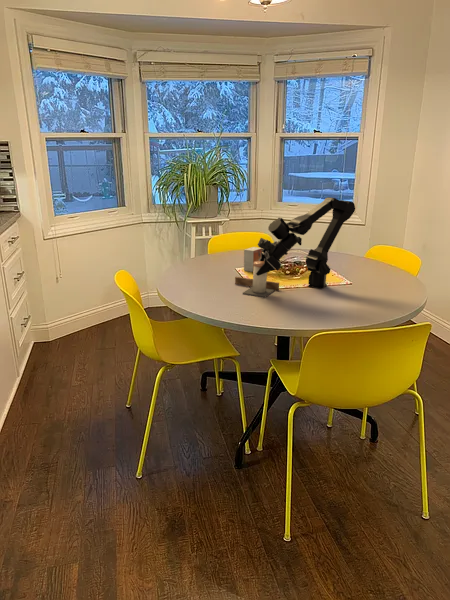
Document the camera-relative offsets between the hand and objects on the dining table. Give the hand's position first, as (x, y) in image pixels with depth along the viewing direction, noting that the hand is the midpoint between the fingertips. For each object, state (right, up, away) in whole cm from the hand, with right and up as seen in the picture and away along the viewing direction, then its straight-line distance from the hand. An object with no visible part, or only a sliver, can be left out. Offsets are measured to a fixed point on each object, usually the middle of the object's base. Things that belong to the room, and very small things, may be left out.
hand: (255, 272), depth 186 cm
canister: (+1, -7, +3) cm, 8 cm away
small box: (+1, +3, +37) cm, 37 cm away
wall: (+1, -5, +10) cm, 12 cm away
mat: (+1, -8, +3) cm, 9 cm away
